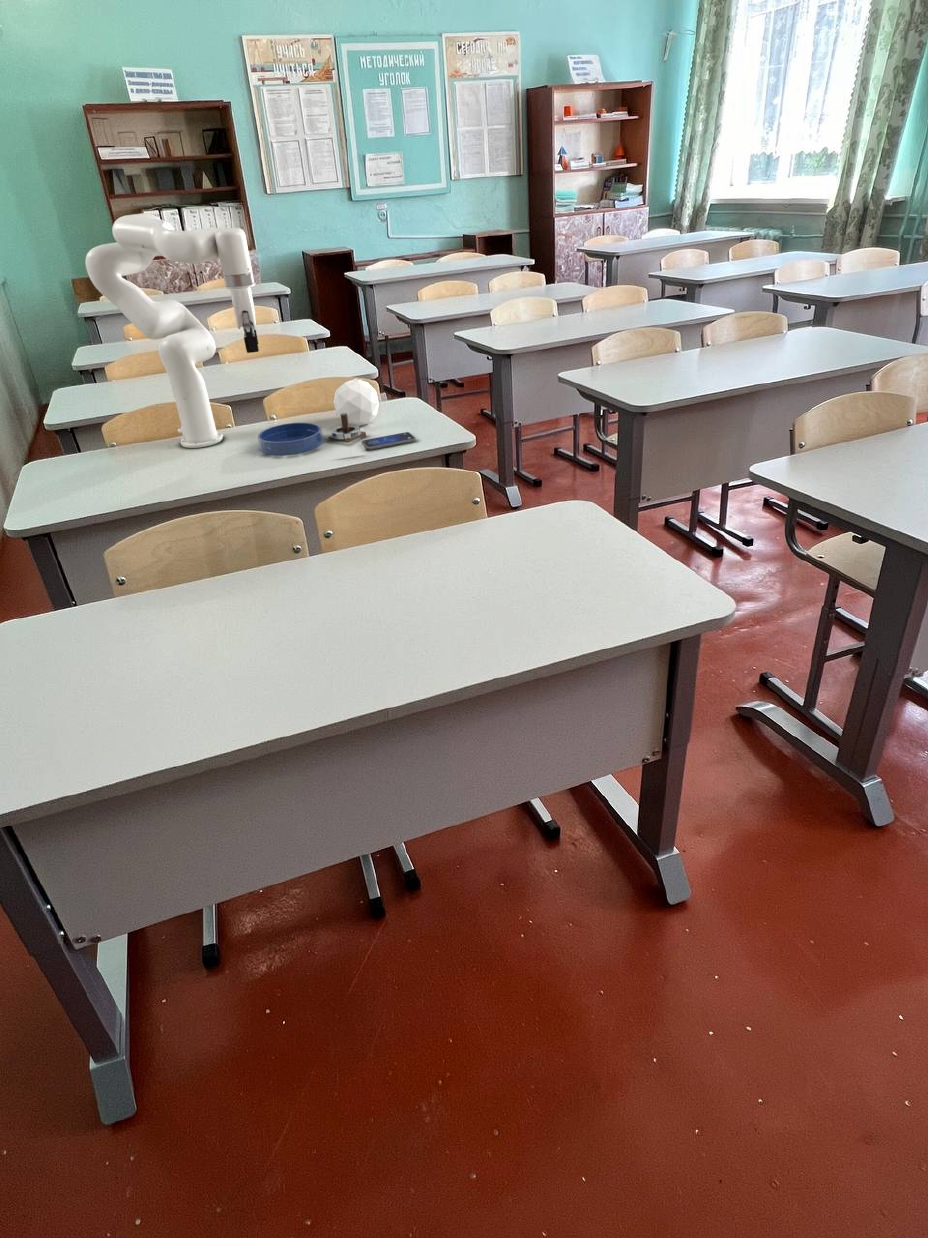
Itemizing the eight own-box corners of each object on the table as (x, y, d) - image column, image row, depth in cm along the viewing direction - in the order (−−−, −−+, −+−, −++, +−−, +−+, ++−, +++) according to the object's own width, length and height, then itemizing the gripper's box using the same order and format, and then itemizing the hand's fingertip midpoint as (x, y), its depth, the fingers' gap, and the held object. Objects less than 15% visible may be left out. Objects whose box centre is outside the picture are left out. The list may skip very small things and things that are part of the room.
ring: (330, 432, 227) (329, 427, 226) (358, 428, 228) (357, 423, 227) (333, 440, 220) (333, 435, 219) (362, 436, 221) (361, 431, 220)
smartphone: (417, 438, 218) (367, 447, 214) (417, 441, 219) (367, 451, 215) (408, 431, 224) (360, 440, 220) (409, 434, 225) (360, 443, 220)
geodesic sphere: (346, 395, 244) (331, 366, 231) (388, 395, 242) (376, 365, 228) (338, 435, 239) (322, 407, 226) (381, 435, 236) (368, 406, 223)
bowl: (247, 453, 220) (244, 437, 218) (291, 434, 233) (288, 419, 230) (293, 461, 211) (290, 445, 209) (336, 441, 224) (333, 426, 222)
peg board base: (328, 441, 224) (324, 416, 220) (345, 433, 230) (342, 409, 226) (349, 444, 220) (345, 419, 216) (366, 436, 226) (363, 411, 222)
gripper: (225, 278, 205) (239, 343, 214) (223, 286, 191) (238, 356, 200) (253, 275, 206) (266, 340, 215) (254, 283, 192) (267, 353, 201)
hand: (252, 348), depth 208 cm, fingers open, 9 cm apart
